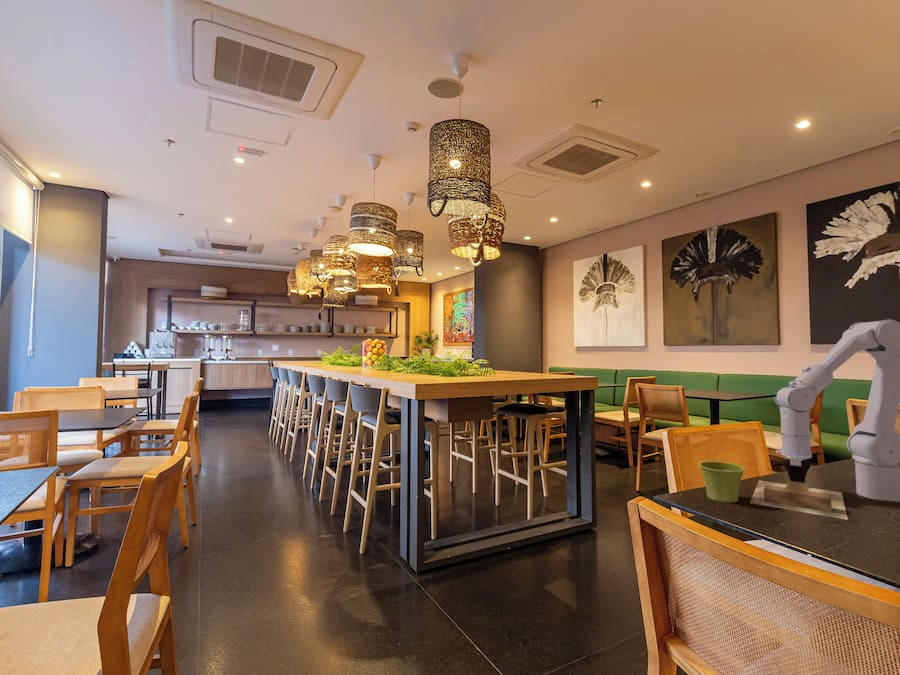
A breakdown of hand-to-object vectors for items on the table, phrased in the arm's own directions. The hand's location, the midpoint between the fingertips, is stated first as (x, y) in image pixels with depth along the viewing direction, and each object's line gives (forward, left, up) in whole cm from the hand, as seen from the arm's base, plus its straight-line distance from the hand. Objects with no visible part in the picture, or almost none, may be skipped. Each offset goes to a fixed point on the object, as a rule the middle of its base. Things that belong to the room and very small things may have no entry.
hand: (797, 489), depth 110 cm
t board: (0, +5, -2) cm, 5 cm away
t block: (0, +8, -1) cm, 8 cm away
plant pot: (+14, +17, -2) cm, 22 cm away
